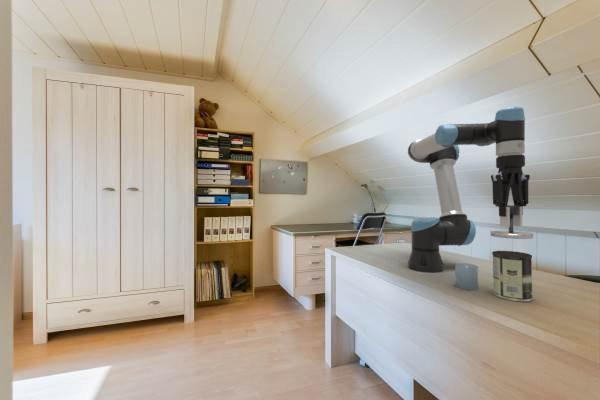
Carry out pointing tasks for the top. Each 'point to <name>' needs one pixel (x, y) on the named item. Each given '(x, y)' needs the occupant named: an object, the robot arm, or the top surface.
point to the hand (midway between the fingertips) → (511, 226)
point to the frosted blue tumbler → (466, 276)
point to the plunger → (512, 234)
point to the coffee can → (512, 275)
